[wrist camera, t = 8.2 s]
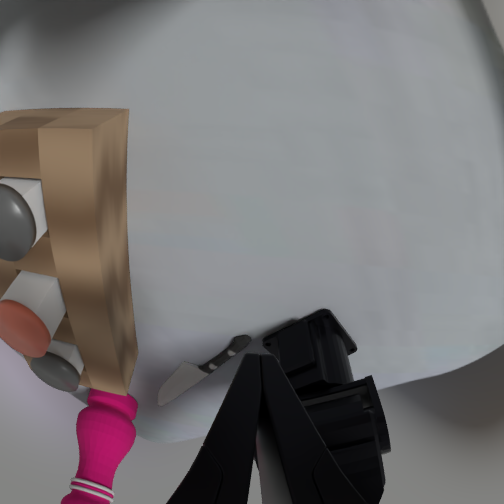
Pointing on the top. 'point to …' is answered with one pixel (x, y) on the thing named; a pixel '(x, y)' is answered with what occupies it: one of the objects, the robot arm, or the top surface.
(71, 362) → the plug
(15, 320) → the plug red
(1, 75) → the top surface
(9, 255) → the plug
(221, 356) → the chef's knife
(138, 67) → the top surface
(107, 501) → the pepper mill
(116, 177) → the socket board
